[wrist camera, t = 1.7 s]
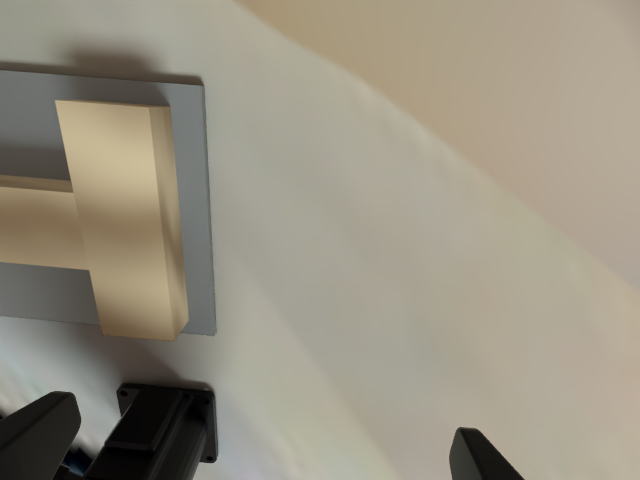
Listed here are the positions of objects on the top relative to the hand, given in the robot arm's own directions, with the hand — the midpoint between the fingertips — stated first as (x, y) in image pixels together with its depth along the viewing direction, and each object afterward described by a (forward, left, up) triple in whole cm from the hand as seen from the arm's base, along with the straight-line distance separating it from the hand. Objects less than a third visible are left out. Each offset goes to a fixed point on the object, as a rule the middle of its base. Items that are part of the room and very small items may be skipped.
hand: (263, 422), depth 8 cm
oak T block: (0, +13, -12) cm, 17 cm away
